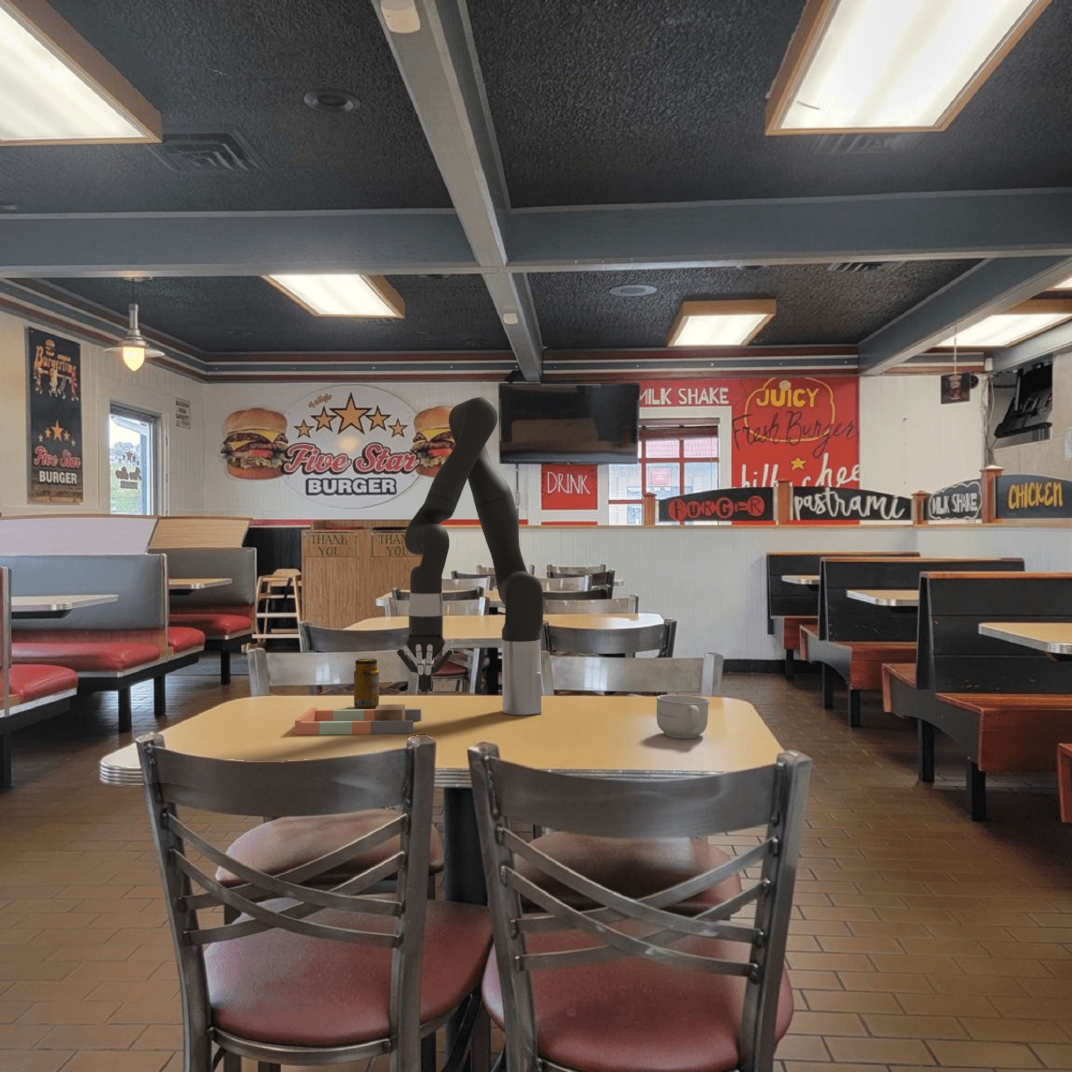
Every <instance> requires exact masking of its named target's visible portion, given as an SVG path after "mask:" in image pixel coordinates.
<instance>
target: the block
mask: <svg viewBox="0 0 1072 1072" xmlns="http://www.w3.org/2000/svg"><path fill="white" fill-rule="evenodd" d="M405 709H406V704H405V703H402V704H400V703H399V704H398V703H395V704H393V703H392V704H379V705H378V706H377V707H376V709H375V710H374V721H403V720H405Z"/></svg>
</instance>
